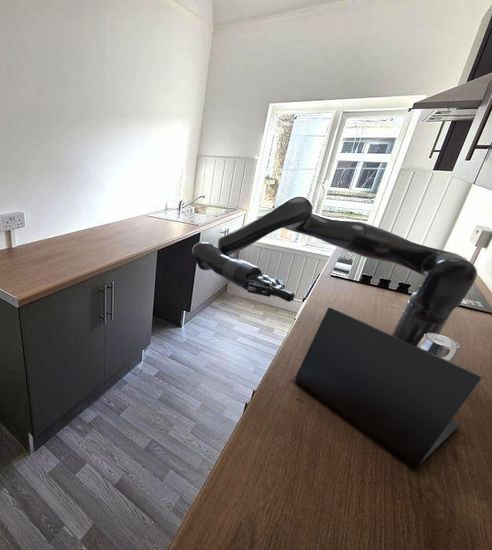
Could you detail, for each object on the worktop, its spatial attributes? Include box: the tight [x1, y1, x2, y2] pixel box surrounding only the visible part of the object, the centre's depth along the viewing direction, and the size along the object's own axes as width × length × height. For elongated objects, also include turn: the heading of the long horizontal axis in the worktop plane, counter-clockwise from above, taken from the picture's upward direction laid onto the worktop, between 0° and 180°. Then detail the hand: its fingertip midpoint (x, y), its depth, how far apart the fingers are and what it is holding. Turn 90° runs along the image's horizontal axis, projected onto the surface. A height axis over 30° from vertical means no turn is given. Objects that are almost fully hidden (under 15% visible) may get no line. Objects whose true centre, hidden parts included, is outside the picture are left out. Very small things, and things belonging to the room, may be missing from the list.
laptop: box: [294, 378, 461, 471], centre depth 73 cm, size 21×26×2 cm
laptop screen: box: [294, 306, 483, 465], centre depth 65 cm, size 21×26×1 cm
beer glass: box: [417, 333, 461, 363], centre depth 78 cm, size 7×7×15 cm
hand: (292, 298), depth 77 cm, fingers closed
